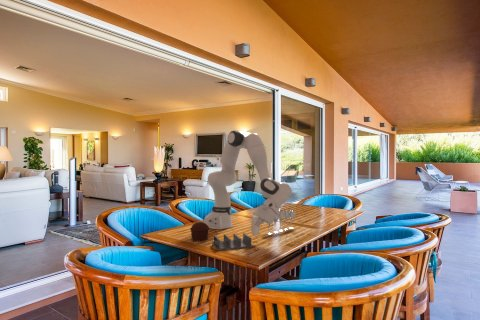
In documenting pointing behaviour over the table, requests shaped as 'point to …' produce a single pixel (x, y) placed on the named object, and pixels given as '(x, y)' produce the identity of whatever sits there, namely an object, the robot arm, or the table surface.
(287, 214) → the goblet set
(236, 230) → the table surface
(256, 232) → the tall cream block
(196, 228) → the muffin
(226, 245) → the dish rack
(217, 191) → the robot arm
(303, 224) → the table surface
